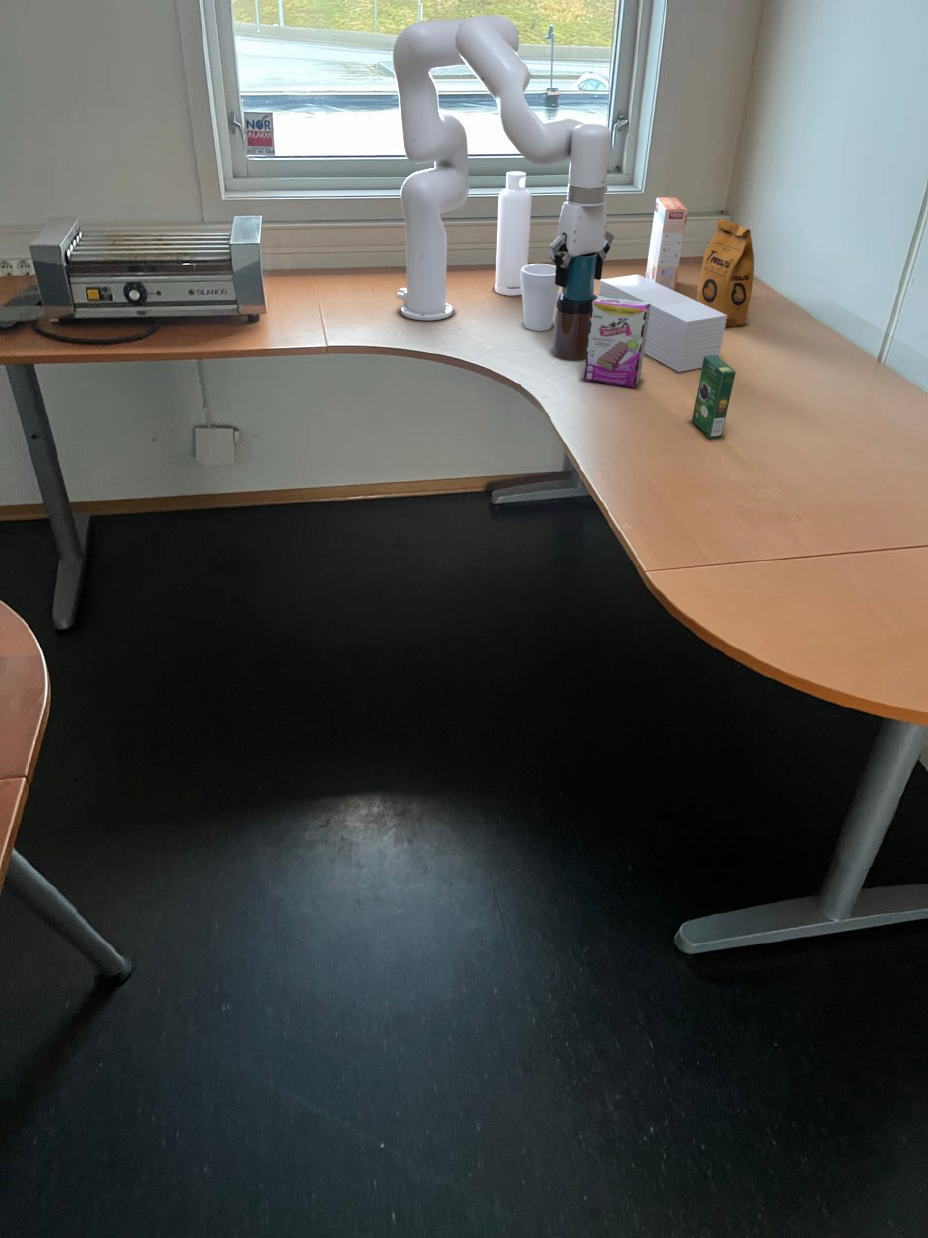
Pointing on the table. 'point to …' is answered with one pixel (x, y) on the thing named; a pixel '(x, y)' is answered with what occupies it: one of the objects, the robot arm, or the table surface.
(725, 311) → the coffee package
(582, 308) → the jar lid
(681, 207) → the cracker box
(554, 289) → the foam cup
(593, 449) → the table surface
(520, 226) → the bottle
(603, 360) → the candy bar box
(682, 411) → the table surface
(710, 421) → the coffee box
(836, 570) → the table surface
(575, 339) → the jar
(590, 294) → the cup
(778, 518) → the table surface
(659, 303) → the stack of papers
